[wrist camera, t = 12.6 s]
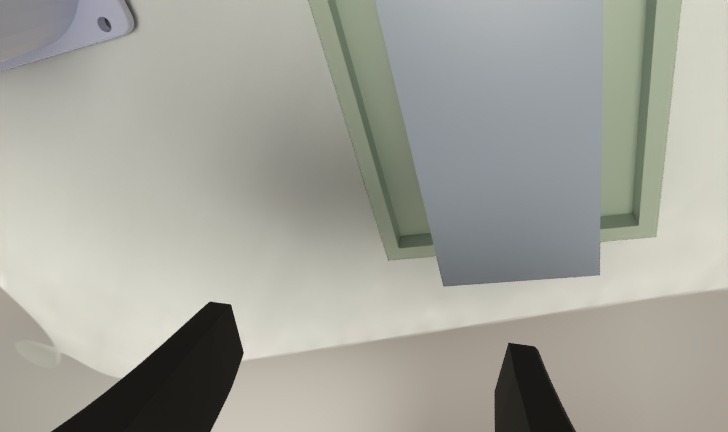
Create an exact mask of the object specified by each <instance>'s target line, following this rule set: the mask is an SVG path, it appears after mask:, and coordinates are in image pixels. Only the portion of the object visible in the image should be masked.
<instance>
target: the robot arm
mask: <svg viewBox="0 0 728 432" xmlns="http://www.w3.org/2000/svg"><path fill="white" fill-rule="evenodd" d="M105 18H106V19H108V21H109V22H110V24H111V29H110V28H109V27H108V26H107V25H106V23H105V20H104V19H105ZM133 28H134V20H133V17H132V14H131V12H130V10H129V9H128V7H127V5H126V3H125V1H124V0H0V72H1V71H4V70H8V69H11V68H14V67H18V66H21V65H24V64H28V63H31V62H35V61H38V60H41V59H45V58H48V57H52V56H55V55H58V54H62V53H65V52H68V51H72V50H75V49H79V48H82V47H85V46H89V45H92V44H95V43H99V42H102V41H106V40H109V39H112V38H116V37H119V36H123V35H125V34H128V33H130V32H131V31H132V30H133ZM243 354H244V352H243V348H242V345H241V341H240V337H239V333H238V329H237V326H236V322H235V318H234V314H233V310H232V306H231V305H230V304H223V303H216V302H209V303H208V304H207V305H205V306H204V307H203V308H202V309H201V310H200V311H199V312H198V313H196V314H195V315H194V316H193V317H192V318H191V319H190V320H189V321H188V322H187V323H185V324H184V325H183V326H182V327H181V328H180V329H179V330H178V331H177V332H176V333H174V334H173V335H172V336H171V337H170V338H169V339H168V340H167V341H166V342H165V343H163V344H162V345H161V346H160V347H159V348H158V349H157V350H155V351H154V352H153V353H152V354H151V355H150V356H148V357H147V358H146V359H145V360H144V361H143V362H142V363H140V364H139V365H138V366H137V367H136V368H135V369H133V370H132V371H131V372H130V373H128V374H127V375H126V376H125V377H124V378H122V379H121V380H120V381H119V382H117V383H116V384H115V385H114V386H112V387H111V388H110V389H109V390H108V391H106V392H105V393H104V394H102V395H101V396H100V397H99V398H97V399H96V400H95V401H93V402H92V403H91V404H89V405H88V406H87V407H85V408H84V409H83V410H81V411H80V412H79V413H77V414H76V415H74V416H73V417H72V418H71V419H69V420H67V421H66V422H64V423H63V424H62V425H60V426H59V427H57V428H56V429H54V430H53V431H52V432H210V431H211V429H212V427H213V425H214V423H215V421H216V419H217V417H218V415H219V413H220V411H221V409H222V407H223V405H224V403H225V401H226V399H227V397H228V394H229V392H230V390H231V388H232V385H233V382H234V380H235V377H236V374H237V371H238V368H239V365H240V362H241V359H242V357H243ZM495 432H576V431H575V429H574V427H573V425H572V424H571V422H570V420H569V418H568V416H567V414H566V412H565V410H564V408H563V406H562V404H561V402H560V400H559V397H558V395H557V393H556V391H555V389H554V387H553V384H552V383H551V380H550V378H549V376H548V373H547V371H546V369H545V366H544V364H543V361H542V359H541V356H540V354H539V351H538V350H537V349H536V347H534V346H527V345H520V344H513V343H508V347H507V350H506V354H505V358H504V361H503V364H502V368H501V371H500V375H499V378H498V382H497V386H496V389H495Z"/></svg>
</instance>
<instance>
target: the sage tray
mask: <svg viewBox="0 0 728 432" xmlns="http://www.w3.org/2000/svg"><path fill="white" fill-rule="evenodd" d="M308 1H309V5H310V8H311V11H312V14H313V18H314V21H315V24H316V27H317V31H318V34H319V37H320V40H321V44H322V47H323V50H324V53H325V57H326V60H327V63H328V66H329V70H330V73H331V76H332V79H333V83H334V86H335V89H336V92H337V96H338V99H339V102H340V105H341V109H342V112H343V115H344V118H345V122H346V125H347V128H348V131H349V135H350V138H351V141H352V144H353V148H354V151H355V154H356V157H357V161H358V164H359V167H360V170H361V174H362V177H363V180H364V183H365V187H366V190H367V193H368V196H369V200H370V203H371V206H372V209H373V213H374V216H375V219H376V222H377V226H378V229H379V232H380V235H381V239H382V242H383V245H384V248H385V252H386V255H387V258H388V260H398V259H409V258H421V257H432V256H436V253H435V249H434V245H433V240H432V236H431V232H430V228H429V224H428V220H427V215H426V211H425V207H424V203H423V199H422V195H421V190H420V186H419V182H418V178H417V174H416V170H415V165H414V161H413V157H412V153H411V149H410V145H409V141H408V136H407V132H406V128H405V124H404V120H403V116H402V111H401V107H400V103H399V99H398V95H397V91H396V86H395V82H394V78H393V74H392V70H391V66H390V61H389V57H388V53H387V49H386V45H385V41H384V36H383V32H382V28H381V24H380V20H379V16H378V11H377V7H376V3H375V0H308ZM681 3H682V0H603V56H602V131H601V206H600V242H605V241H616V240H628V239H639V238H651V237H656V235H657V226H658V216H659V207H660V198H661V189H662V179H663V170H664V161H665V151H666V142H667V133H668V124H669V114H670V105H671V96H672V87H673V77H674V68H675V59H676V50H677V40H678V31H679V22H680V13H681Z"/></svg>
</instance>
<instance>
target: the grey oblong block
mask: <svg viewBox="0 0 728 432" xmlns="http://www.w3.org/2000/svg"><path fill="white" fill-rule="evenodd" d="M375 3H376V7H377V11H378V16H379V20H380V24H381V28H382V32H383V36H384V41H385V45H386V49H387V53H388V57H389V61H390V66H391V70H392V74H393V78H394V82H395V86H396V91H397V95H398V99H399V103H400V107H401V111H402V116H403V120H404V124H405V128H406V132H407V136H408V141H409V145H410V149H411V153H412V157H413V161H414V165H415V170H416V174H417V178H418V182H419V186H420V190H421V195H422V199H423V203H424V207H425V211H426V215H427V220H428V224H429V228H430V232H431V236H432V240H433V245H434V249H435V253H436V257H437V261H438V265H439V270H440V274H441V278H442V282H443V286H456V285H470V284H484V283H498V282H512V281H526V280H540V279H554V278H568V277H582V276H596V275H600V206H601V131H602V56H603V0H375Z"/></svg>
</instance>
